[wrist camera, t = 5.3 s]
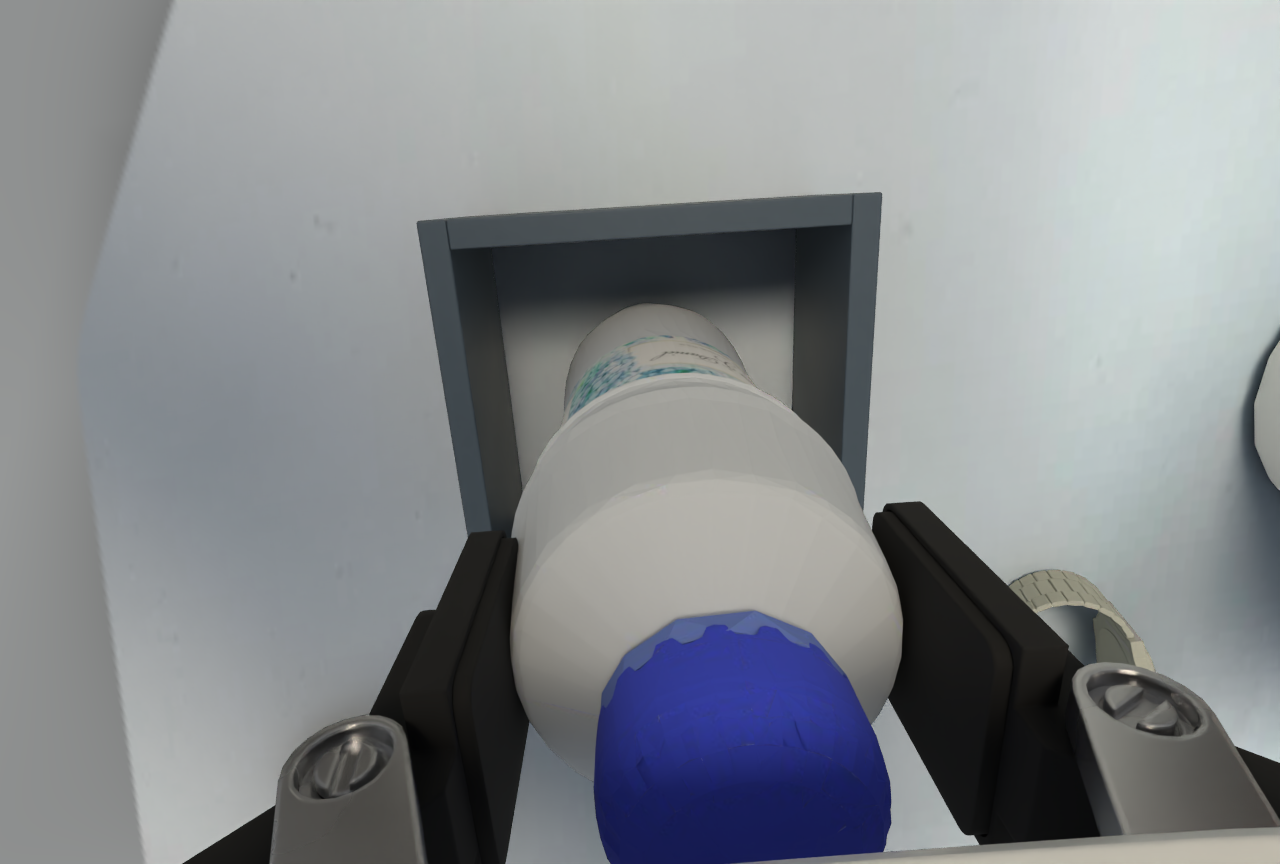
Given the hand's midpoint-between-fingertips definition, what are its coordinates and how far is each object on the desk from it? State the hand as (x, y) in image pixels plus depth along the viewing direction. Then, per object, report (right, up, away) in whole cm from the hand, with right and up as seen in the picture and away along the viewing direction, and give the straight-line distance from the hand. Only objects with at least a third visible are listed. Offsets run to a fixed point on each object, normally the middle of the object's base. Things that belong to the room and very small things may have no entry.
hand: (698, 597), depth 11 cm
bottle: (-1, +5, +14) cm, 15 cm away
